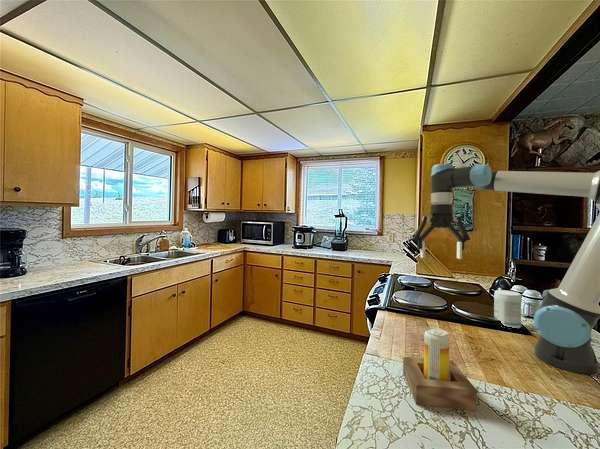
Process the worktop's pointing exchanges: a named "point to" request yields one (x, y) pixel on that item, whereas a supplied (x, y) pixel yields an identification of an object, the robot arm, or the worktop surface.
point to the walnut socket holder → (439, 387)
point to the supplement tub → (508, 308)
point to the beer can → (436, 354)
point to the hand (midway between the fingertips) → (440, 258)
